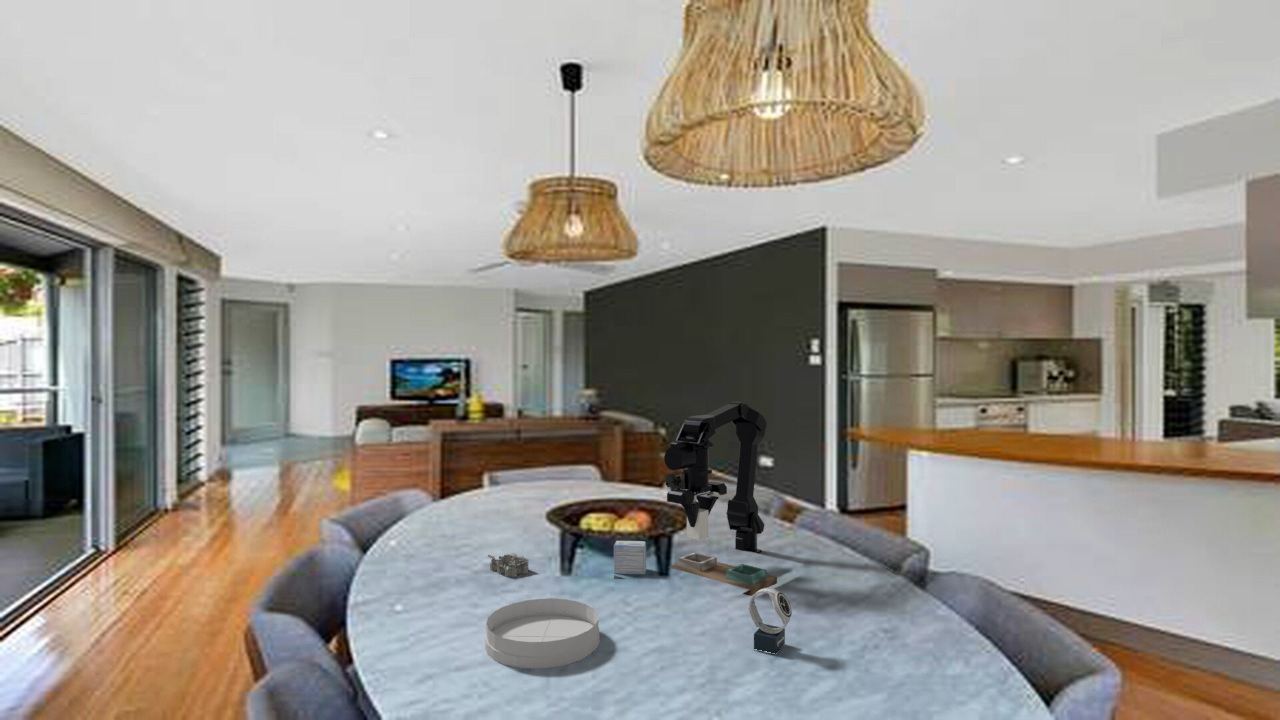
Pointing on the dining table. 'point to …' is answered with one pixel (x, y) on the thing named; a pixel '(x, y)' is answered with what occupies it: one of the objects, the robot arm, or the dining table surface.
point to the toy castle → (509, 564)
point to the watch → (770, 635)
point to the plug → (699, 526)
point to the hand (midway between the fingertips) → (697, 525)
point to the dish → (542, 633)
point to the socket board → (726, 572)
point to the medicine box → (629, 557)
